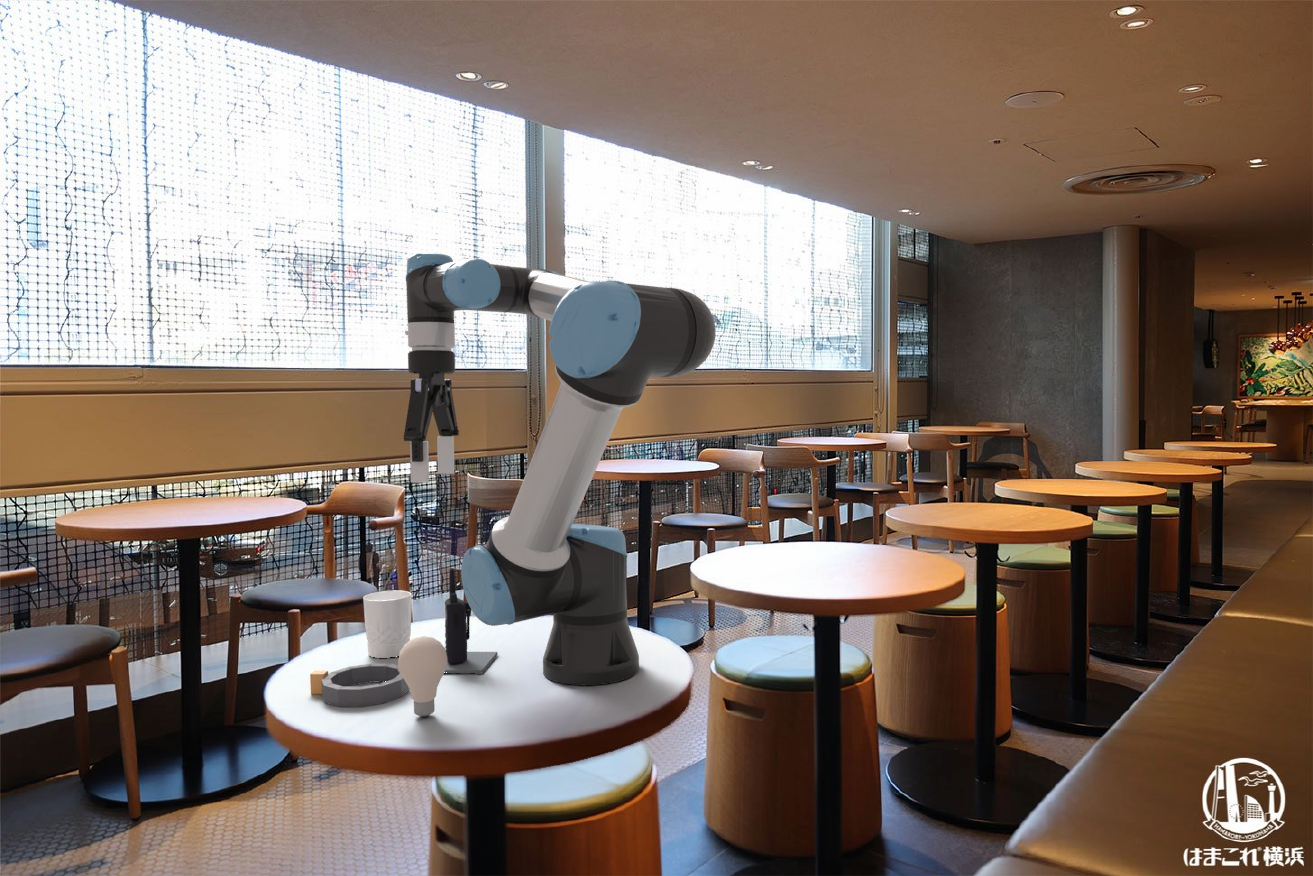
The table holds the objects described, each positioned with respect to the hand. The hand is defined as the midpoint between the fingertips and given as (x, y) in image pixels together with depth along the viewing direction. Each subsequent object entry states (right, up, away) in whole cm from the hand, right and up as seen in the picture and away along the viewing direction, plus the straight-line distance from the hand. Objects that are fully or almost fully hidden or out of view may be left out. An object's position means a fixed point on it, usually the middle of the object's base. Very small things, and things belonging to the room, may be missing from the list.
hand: (433, 478), depth 145 cm
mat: (+5, -30, -3) cm, 31 cm away
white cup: (-9, -30, +4) cm, 32 cm away
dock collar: (-7, -31, -16) cm, 36 cm away
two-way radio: (+5, -30, -3) cm, 30 cm away
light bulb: (+5, -31, -26) cm, 41 cm away
